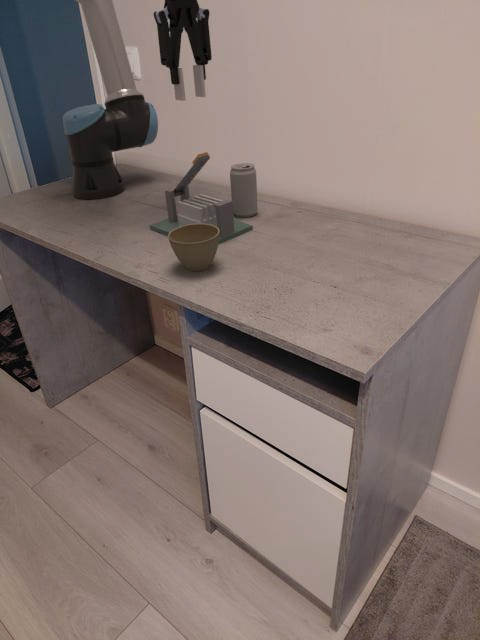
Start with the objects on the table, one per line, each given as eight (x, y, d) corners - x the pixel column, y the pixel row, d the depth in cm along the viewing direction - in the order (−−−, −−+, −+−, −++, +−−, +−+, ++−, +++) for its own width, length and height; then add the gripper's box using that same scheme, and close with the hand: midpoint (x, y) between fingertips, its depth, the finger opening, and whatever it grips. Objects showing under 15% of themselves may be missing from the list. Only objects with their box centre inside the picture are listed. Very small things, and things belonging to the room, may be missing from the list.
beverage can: (247, 220, 116) (245, 170, 109) (227, 215, 119) (223, 167, 113) (262, 212, 120) (261, 163, 114) (242, 208, 123) (240, 161, 117)
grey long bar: (173, 198, 113) (169, 191, 113) (181, 195, 114) (177, 189, 114) (202, 161, 100) (198, 154, 100) (211, 159, 101) (207, 151, 101)
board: (150, 229, 114) (144, 194, 110) (197, 211, 123) (194, 179, 118) (204, 250, 102) (200, 212, 97) (252, 229, 110) (251, 193, 106)
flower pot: (196, 251, 101) (193, 219, 97) (232, 262, 96) (230, 229, 92) (162, 269, 95) (157, 235, 91) (198, 282, 89) (194, 247, 86)
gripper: (152, -29, 89) (169, 105, 102) (223, -27, 100) (230, 93, 112) (130, -25, 94) (148, 103, 106) (200, -24, 104) (209, 92, 117)
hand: (190, 98), depth 109 cm, fingers open, 5 cm apart
